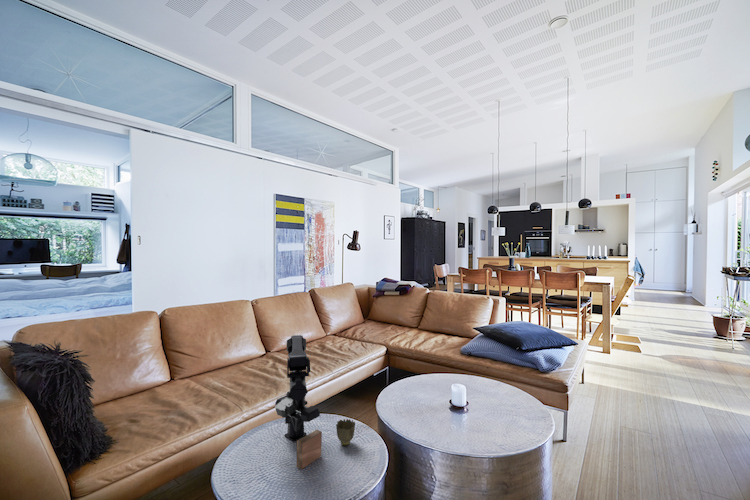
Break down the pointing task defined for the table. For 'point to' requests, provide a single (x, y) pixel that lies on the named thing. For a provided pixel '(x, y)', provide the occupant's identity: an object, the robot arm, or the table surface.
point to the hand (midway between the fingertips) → (296, 430)
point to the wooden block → (309, 449)
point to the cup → (345, 431)
